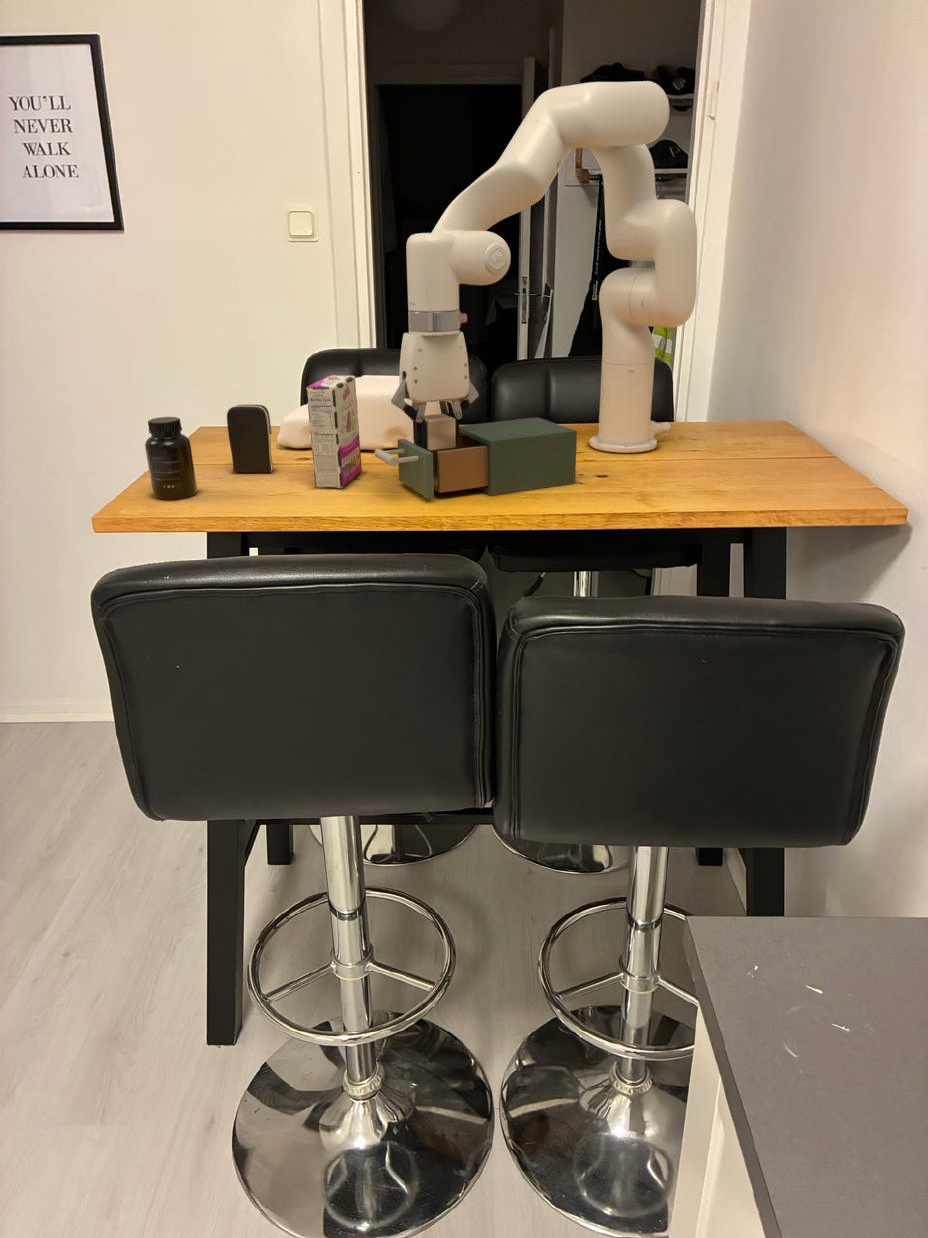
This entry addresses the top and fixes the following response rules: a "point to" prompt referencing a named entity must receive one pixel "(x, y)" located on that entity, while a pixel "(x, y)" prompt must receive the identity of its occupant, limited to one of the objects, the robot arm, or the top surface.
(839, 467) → the top surface
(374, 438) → the white rounded body
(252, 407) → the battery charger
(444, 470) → the drawer
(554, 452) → the cabinet
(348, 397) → the candy bar box
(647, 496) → the top surface
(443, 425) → the cream box
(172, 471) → the supplement bottle
